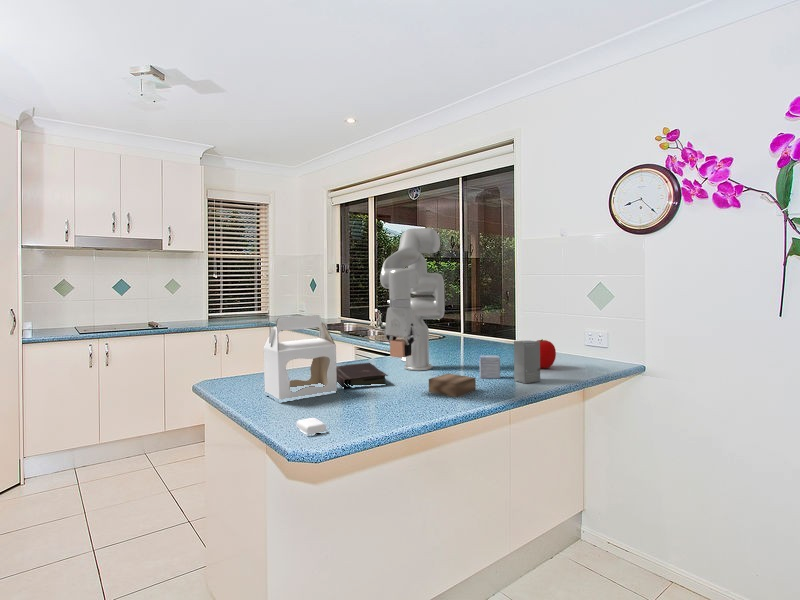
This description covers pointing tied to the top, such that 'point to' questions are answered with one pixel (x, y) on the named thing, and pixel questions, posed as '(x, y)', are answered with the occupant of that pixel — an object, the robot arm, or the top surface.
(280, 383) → the gable box
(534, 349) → the tall grey block
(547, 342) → the tomato
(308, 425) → the soap
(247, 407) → the top surface
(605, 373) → the top surface
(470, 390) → the walnut block
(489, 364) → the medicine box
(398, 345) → the terracotta cube
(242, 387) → the top surface
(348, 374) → the diary
